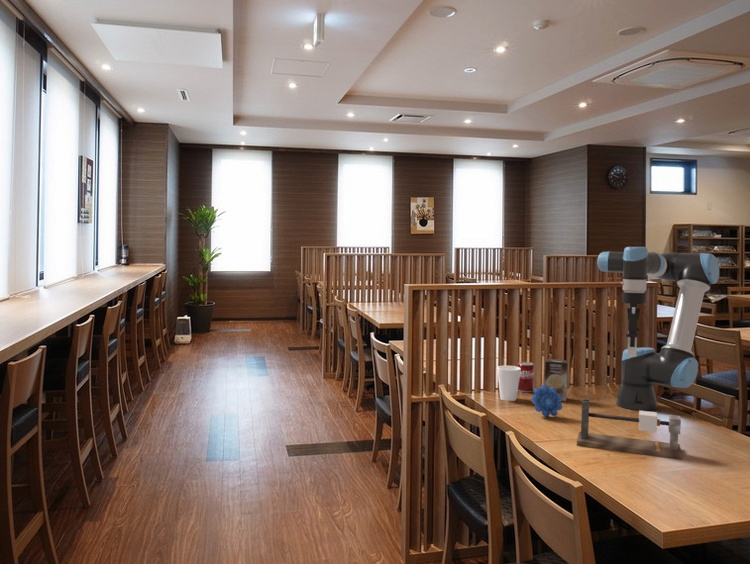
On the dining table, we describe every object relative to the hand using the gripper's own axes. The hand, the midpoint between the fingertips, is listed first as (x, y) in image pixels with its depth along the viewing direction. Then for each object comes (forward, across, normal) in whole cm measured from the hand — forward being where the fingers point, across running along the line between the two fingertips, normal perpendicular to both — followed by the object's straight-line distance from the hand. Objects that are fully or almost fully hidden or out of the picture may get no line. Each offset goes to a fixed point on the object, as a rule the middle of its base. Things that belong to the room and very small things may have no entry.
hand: (631, 353), depth 208 cm
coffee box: (+27, -32, -28) cm, 50 cm away
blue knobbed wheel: (+27, -2, -28) cm, 39 cm away
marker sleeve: (+20, +21, +5) cm, 29 cm away
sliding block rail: (+27, +21, 0) cm, 34 cm away
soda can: (+27, -40, -42) cm, 64 cm away
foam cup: (+27, -23, -46) cm, 58 cm away
